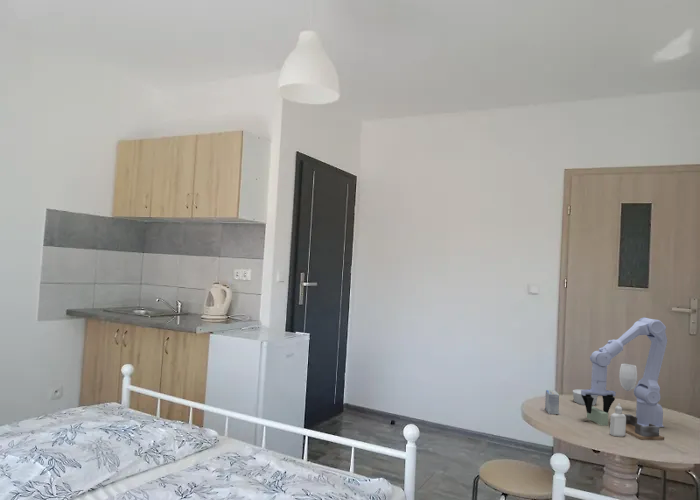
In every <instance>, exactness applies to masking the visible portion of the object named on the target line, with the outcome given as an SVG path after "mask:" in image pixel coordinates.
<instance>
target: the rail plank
mask: <svg viewBox="0 0 700 500" xmlns="http://www.w3.org/2000/svg"><path fill="white" fill-rule="evenodd" d="M586 419H588V420H590V421H592V422H594V423H596V424H598V425H600V426H609V412H608V413H606V412H604V411H603V409H600V408H597V407H595V406H592V411H591V413H588V412H587V411H586Z"/></svg>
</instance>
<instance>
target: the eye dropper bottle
mask: <svg viewBox="0 0 700 500" xmlns="http://www.w3.org/2000/svg"><path fill="white" fill-rule="evenodd" d="M624 414H625V413H623V407H621V403H617V404H616V406H615V409H614V413H611V414H610V421H609V434H610V435H611V436H613V437H625V436H626V416H625V415H624Z"/></svg>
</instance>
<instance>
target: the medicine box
mask: <svg viewBox="0 0 700 500" xmlns="http://www.w3.org/2000/svg"><path fill="white" fill-rule="evenodd" d="M544 400H545V401H544V402H545V403H544V404H545V405H544V409H545V411H546V412H547V414H548V415H549V414H550V415H556V414H558V415H559V412H560V409H559V408H560V394H559V392H557V390H551V389H546V390H545V399H544Z"/></svg>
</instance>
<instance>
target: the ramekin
mask: <svg viewBox="0 0 700 500" xmlns="http://www.w3.org/2000/svg"><path fill="white" fill-rule="evenodd" d="M581 390H583V389H573V390H572V397H573V401H574V402H575V403H576V404H578V405H583V406H585V403H584V400H583V398H582V395H581ZM591 396H592V398H594V400H593V403H592V407H594V406H595V405H596V404H597V402H598V398H599V397H598V396H596V395H591Z"/></svg>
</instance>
